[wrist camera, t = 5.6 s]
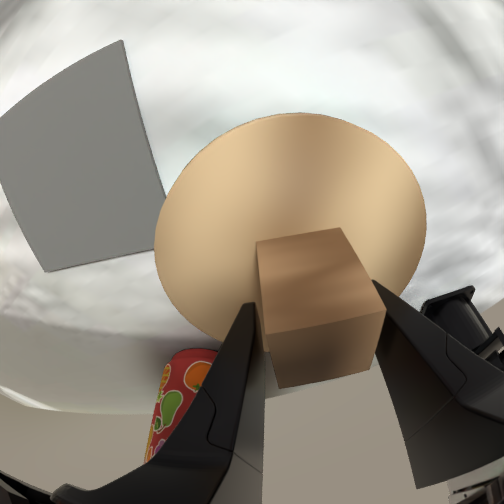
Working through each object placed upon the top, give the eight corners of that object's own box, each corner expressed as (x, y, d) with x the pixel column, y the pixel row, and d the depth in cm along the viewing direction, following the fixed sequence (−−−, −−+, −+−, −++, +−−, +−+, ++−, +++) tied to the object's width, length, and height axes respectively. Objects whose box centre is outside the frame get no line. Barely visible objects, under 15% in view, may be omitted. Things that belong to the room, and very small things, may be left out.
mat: (123, 40, 9) (120, 39, 9) (181, 240, 16) (180, 243, 15) (-13, 131, 10) (-16, 132, 9) (46, 270, 16) (45, 272, 16)
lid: (420, 107, 8) (522, 146, 3) (395, 313, 14) (429, 385, 10) (121, 152, 8) (36, 220, 4) (205, 348, 14) (200, 431, 10)
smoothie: (202, 391, 26) (198, 560, 10) (140, 356, 23) (113, 557, 6) (266, 368, 24) (282, 571, 7) (203, 324, 20) (194, 594, 3)
